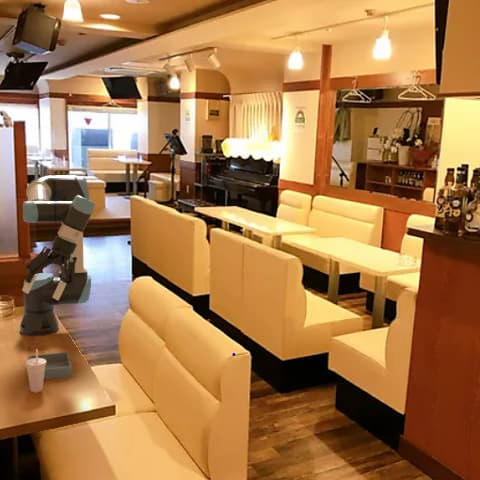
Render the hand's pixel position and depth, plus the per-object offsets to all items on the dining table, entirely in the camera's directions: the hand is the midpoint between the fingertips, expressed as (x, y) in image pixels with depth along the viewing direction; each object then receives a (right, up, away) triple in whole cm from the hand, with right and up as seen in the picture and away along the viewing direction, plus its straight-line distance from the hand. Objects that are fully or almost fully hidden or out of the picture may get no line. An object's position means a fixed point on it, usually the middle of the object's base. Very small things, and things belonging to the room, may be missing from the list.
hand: (40, 295), depth 194 cm
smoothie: (+2, -30, -10) cm, 31 cm away
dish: (+2, -27, +5) cm, 27 cm away
